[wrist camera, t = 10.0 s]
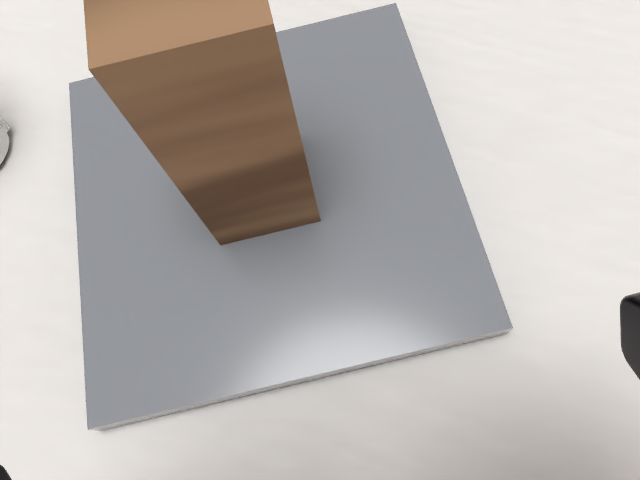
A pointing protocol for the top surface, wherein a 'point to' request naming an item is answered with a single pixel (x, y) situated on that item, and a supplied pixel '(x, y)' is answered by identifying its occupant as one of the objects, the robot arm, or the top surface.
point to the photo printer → (3, 139)
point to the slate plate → (280, 242)
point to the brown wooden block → (208, 106)
